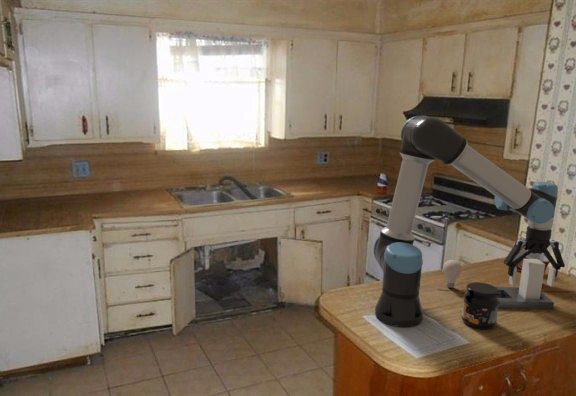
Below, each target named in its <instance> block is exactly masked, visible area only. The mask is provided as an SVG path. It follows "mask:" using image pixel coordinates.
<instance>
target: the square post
mask: <svg viewBox="0 0 576 396" xmlns="http://www.w3.org/2000/svg"><path fill="white" fill-rule="evenodd" d="M544 268H545V264H544V263H543V262H541V261H540V260H538V259H523V266H522V271H520V272H521V274H520V280H519V294H520V295H521V296H522V297H523V298H524V299H540V294H541V292H542V287H543V280H544V276H543V275H545V273H544Z"/></svg>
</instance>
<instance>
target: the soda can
mask: <svg viewBox="0 0 576 396" xmlns="http://www.w3.org/2000/svg"><path fill="white" fill-rule="evenodd" d="M521 240H522V239H521ZM522 241H524V240H522ZM515 242H516V240H515V241H514V243H513V244H512V248H513V247H514V245H515ZM524 247H525V244H524V245H523V247H521V249H520V251H519V252H518V254H519V253H520V252H521V251H522V249H523V248H524ZM518 254H517V255H518ZM517 255H516V256H517ZM515 267H516V268H517V271H516V272H522V261H521V262H520V263H519V264H517V265H516V266H515Z"/></svg>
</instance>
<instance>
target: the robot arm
mask: <svg viewBox="0 0 576 396" xmlns="http://www.w3.org/2000/svg"><path fill="white" fill-rule="evenodd" d="M400 139H401V145H400V150H399V155H400V156H401V158H402V161H401V163H400V164H401V165H400V169H399V173H398V177H397V182H396V186H395V190H394V192H393V193H394V194H393V197H392V198H393V199H392V202H391V207H390V210H389V215H388V219H387V222H386V226H385V227H382V228H381V229H380V233H379V236H378V237H377V238H376V239H375V242H374V244H373V255H374V259H375V261H376V262H377V264H378V266H379V267H380V269H381V271H382V273H383V277H382V288H381V289H382V291H381V293H380V296H379V297H378V300H377V302H376V304H375V311H374V314H375V316H376V318H377V319H378V320H379V321H381V322H382V323H384V324H387V325H390V326H394V327H397V328H398V327H399V328H410V327H415V326H418V325H420V324H421V323H422V322H423V317H424V316H423V315H424V314H423V313H424V311H423V308H422V303H421V299H420V289H421V288H420V287H421V276H422V270H423V269H422V268H423V267H422V266H423V261H424V260H423V253H422V251H421V249H420V248H419V247H417V246H416V245H414V241H415V239H416V238H415V235H414V234H413V233H412V231H413V228H414V223H415V219H416V215H417V212H418V208H419V204H420V201H421V197H422V192H423V188H424V185H425V180H426V177H427V173H428V168H429V165H430V164H432V162H435V160H437V161H438V162H441V163H442V164H444V165H445V166H452V167H453V168H454V169H456V170H457V171H459V172H460V173H462V174H463V175H465V177H468V178H469V179H470V180H472V181H473V182H475V183H476V184H478V185H479V186H481V187H482V188H483V189H485V190H486V191H488V192H489V193H491V194H492V195H494V205H495V207H496V209H498V210H501V211H512V212H514V213H516V214H518V215H519V216H522V217H524V218H526V219H527V220H528V221H527V225H528V226H527V227H526V232H525V239H524V240H523V241H522V239H519V238H517V239H516V240H515V241H516V242H515V241H514V243H515V245H514V247H513V246H512V248H511V250H510V251H509V253H508V255H507V256H506V257H505V259H504V260H503V264H504V265H505V266H506V267H508V268H507V269H508V270H507V275H508V277H509V279H508V283H509V285H511V287H512V286H513V287H515V283H516V277H517V272H518V271H517V268H516V267H515V266H516V265H517V264H519V263H520V262H521V261H522V260H523V259H524V258H525V257H526V256H527V255H529V254H531V253H532V254H536V253H538V254H542V253H543V254H544V255H545V256H546V258H547V259H548V261H549V264H550V265H551V266H548V267H549V268H548V274H547V275H548V276H547V279H546V280H547V281H546V285H548V286H550V287H551V288H552V287H554V284H555V280H556V279H555V278H557V276H558V274H559V273H558V272H559V270H561V268H565V266H566V265H565V261H564V258H563V256H562V253H561V251H560V247H559V246H560V242H559V241H557V240H555V239H552V240H551V237H552V228H554V227H553V225H554V218H555V217H554V216H555V212H556V211H555V210H556V206H557V199H558V194H559V191H558V190H559V187H558V185H557V184H556V183H552V182H548V181H536V182H534V183H533V185H532V187H530V188H529V187H527V186H526V185H524V184H523V183H522V182H520V181H518V180H517V179H516V178H515V177H513V176H512V175H510V174H509V173H508V172H506V171H504V170H503V169H502V168H500V167H499V166H498V165H497V164H495V163H493V162H492V161H491V160H489V159H488V158H487V157H486V156H484V155H483V154H481V153H480V152H478V151H477V150H476V149H474V148H473V147H471V146H470V145H469V144H468V140H467V139H466V138H465V137H464V136H462V134H460V133H459V132H458V131H456V130H455V129H454V128H453V127H451V126H450V125H449V124H448V123H447V122H445V121H444V120H442V119H441V118H438V117H435V116H429V115H428V116H427V115H423V114H422V115H420V114H419V115H416V116H412V117H410V118H409V119H407V120H406V122H404V124H403V125H402V128H401V129H400ZM524 244H525V247H524V248H523V249H522V251H521V252H520V253H519V254H518V252H519V251H520V249H521V247H523V245H524ZM549 247H551V250H552V252H553V255H554V257H553V256H552V254H551V252H550V251H549V250H548V248H549ZM527 250H528V251H527ZM517 254H518V255H517ZM516 255H517V256H516ZM554 258H555V259H554Z"/></svg>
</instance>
